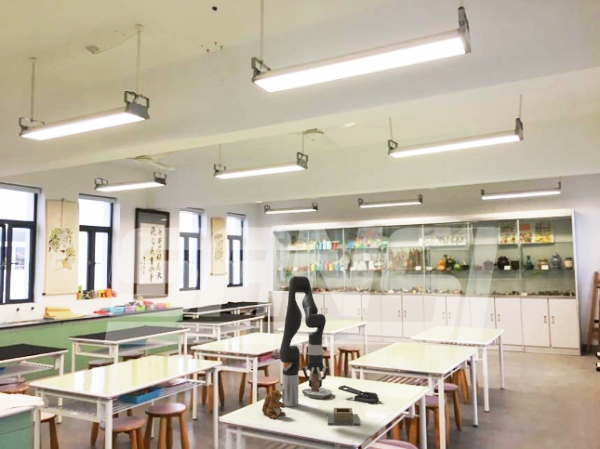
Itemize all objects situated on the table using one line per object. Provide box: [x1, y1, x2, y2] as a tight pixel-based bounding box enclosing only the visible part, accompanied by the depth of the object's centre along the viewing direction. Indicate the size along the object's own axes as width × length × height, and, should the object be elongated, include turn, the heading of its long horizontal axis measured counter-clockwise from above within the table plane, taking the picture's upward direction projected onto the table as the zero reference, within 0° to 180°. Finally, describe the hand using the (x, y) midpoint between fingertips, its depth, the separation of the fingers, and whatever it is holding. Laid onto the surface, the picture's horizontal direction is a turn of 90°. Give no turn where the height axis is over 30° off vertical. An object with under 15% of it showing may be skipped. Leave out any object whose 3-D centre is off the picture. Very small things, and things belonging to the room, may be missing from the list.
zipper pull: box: [337, 385, 380, 405], centre depth 285 cm, size 9×7×25 cm
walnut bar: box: [310, 373, 320, 392], centre depth 243 cm, size 4×4×9 cm
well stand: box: [326, 407, 361, 426], centre depth 245 cm, size 16×16×5 cm
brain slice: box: [301, 387, 333, 400], centre depth 296 cm, size 20×17×3 cm
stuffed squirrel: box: [261, 389, 286, 419], centre depth 255 cm, size 10×14×13 cm
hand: (315, 387), depth 243 cm, fingers closed on walnut bar, 4 cm apart
